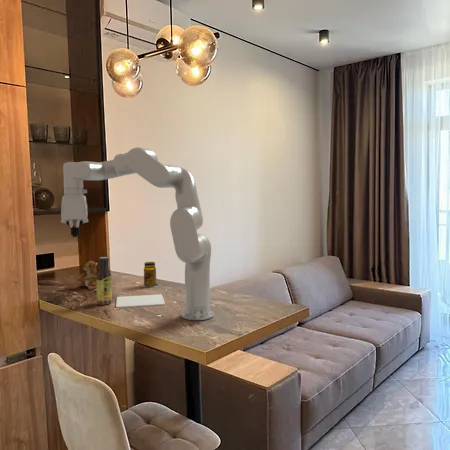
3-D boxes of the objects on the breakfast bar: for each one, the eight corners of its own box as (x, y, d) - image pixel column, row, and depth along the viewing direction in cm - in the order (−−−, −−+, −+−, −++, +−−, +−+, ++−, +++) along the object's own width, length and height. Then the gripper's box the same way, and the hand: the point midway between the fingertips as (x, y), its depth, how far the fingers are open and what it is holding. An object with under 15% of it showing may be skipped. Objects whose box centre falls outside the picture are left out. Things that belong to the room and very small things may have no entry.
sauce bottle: (106, 306, 177) (104, 259, 175) (93, 304, 179) (92, 258, 177) (115, 302, 183) (114, 256, 181) (103, 300, 185) (101, 256, 183)
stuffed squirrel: (77, 286, 212) (76, 260, 210) (104, 282, 221) (103, 257, 220) (85, 290, 204) (84, 263, 203) (112, 285, 213) (112, 260, 212)
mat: (164, 304, 179) (164, 303, 179) (116, 307, 174) (116, 306, 174) (162, 295, 194) (161, 294, 194) (117, 297, 190) (117, 296, 190)
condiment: (142, 287, 209) (141, 263, 208) (144, 283, 218) (144, 260, 217) (157, 287, 210) (156, 263, 209) (159, 283, 218) (158, 260, 217)
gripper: (93, 192, 179) (94, 235, 181) (56, 192, 176) (57, 236, 178) (92, 192, 172) (93, 237, 174) (52, 192, 169) (54, 238, 171)
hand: (75, 236), depth 176 cm, fingers closed
